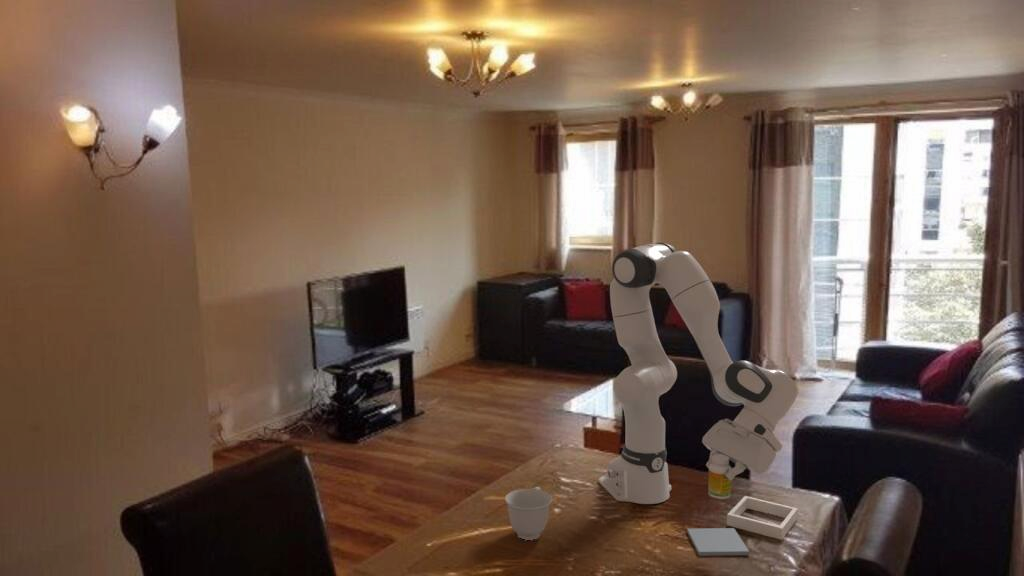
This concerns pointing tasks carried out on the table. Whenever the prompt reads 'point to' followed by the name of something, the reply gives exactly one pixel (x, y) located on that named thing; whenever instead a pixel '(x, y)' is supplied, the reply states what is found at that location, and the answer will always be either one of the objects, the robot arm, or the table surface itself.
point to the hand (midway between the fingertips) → (718, 473)
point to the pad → (717, 541)
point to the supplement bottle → (719, 477)
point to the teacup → (528, 511)
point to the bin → (759, 526)
